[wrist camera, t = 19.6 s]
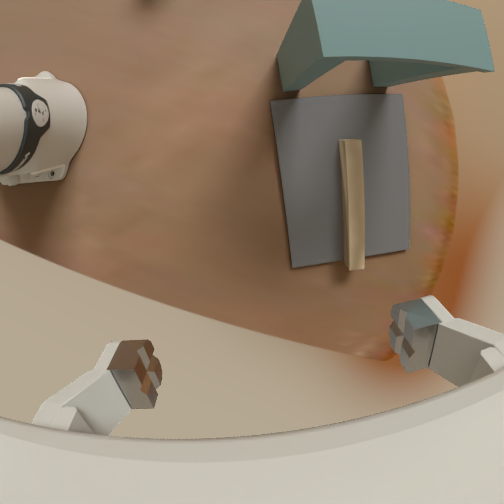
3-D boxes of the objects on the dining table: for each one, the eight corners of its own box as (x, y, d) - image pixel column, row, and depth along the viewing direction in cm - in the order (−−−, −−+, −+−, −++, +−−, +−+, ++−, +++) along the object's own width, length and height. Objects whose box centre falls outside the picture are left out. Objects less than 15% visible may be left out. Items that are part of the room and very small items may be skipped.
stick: (343, 262, 49) (349, 270, 46) (338, 139, 42) (344, 140, 39) (358, 260, 49) (364, 268, 46) (354, 138, 42) (361, 140, 39)
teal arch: (282, 93, 40) (323, 56, 18) (276, 54, 38) (307, -16, 16) (387, 88, 39) (494, 71, 17) (381, 51, 37) (480, 10, 15)
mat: (291, 265, 50) (292, 267, 49) (269, 101, 41) (270, 101, 40) (406, 247, 49) (409, 249, 48) (399, 94, 40) (402, 94, 39)
